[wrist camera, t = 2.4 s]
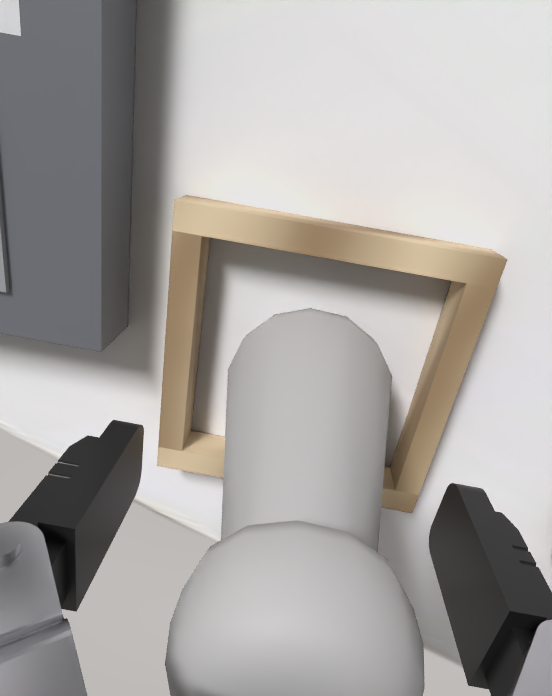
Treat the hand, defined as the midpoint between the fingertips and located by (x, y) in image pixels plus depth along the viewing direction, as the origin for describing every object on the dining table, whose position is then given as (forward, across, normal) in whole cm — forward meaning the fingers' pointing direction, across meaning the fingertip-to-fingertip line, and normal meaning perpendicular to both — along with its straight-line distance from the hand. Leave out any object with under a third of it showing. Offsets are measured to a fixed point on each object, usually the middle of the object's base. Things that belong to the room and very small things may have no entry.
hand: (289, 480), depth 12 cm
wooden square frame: (+7, 0, 0) cm, 7 cm away
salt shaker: (+8, 0, 0) cm, 8 cm away
